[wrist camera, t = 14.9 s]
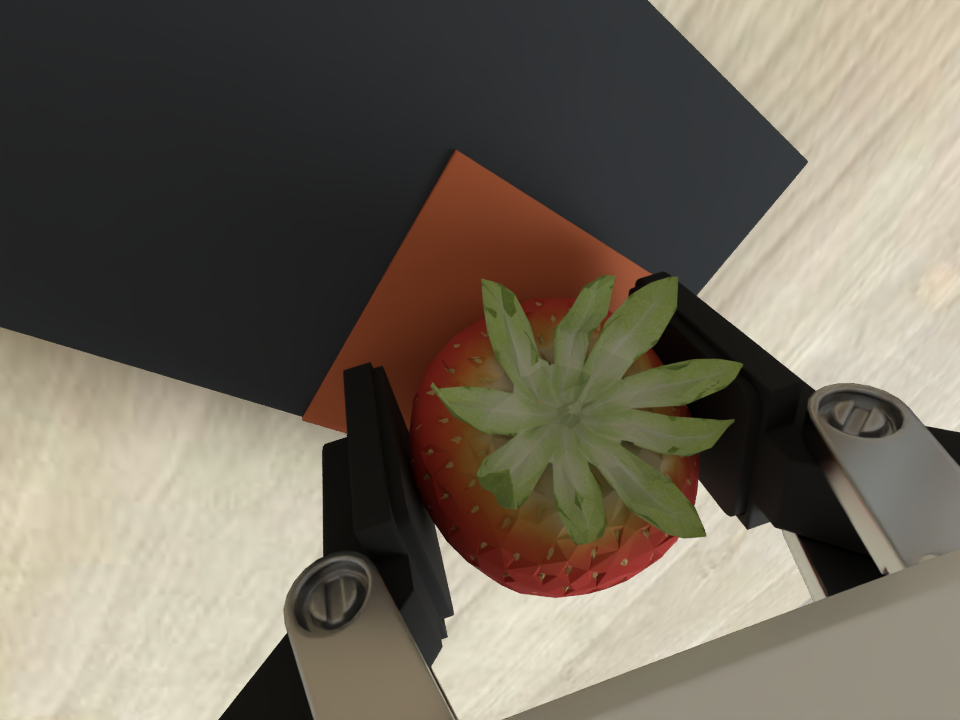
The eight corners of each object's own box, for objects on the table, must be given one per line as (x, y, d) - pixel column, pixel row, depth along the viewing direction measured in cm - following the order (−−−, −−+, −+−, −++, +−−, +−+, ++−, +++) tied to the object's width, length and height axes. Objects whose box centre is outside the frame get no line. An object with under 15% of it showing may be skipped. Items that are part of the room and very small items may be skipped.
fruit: (424, 639, 12) (400, 562, 5) (413, 421, 15) (388, 188, 8) (645, 613, 13) (882, 513, 6) (595, 408, 15) (713, 179, 9)
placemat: (-243, 239, 8) (-272, 252, 8) (-174, -803, 4) (-224, -884, 4) (532, 476, 15) (538, 490, 15) (795, 157, 12) (813, 163, 11)
